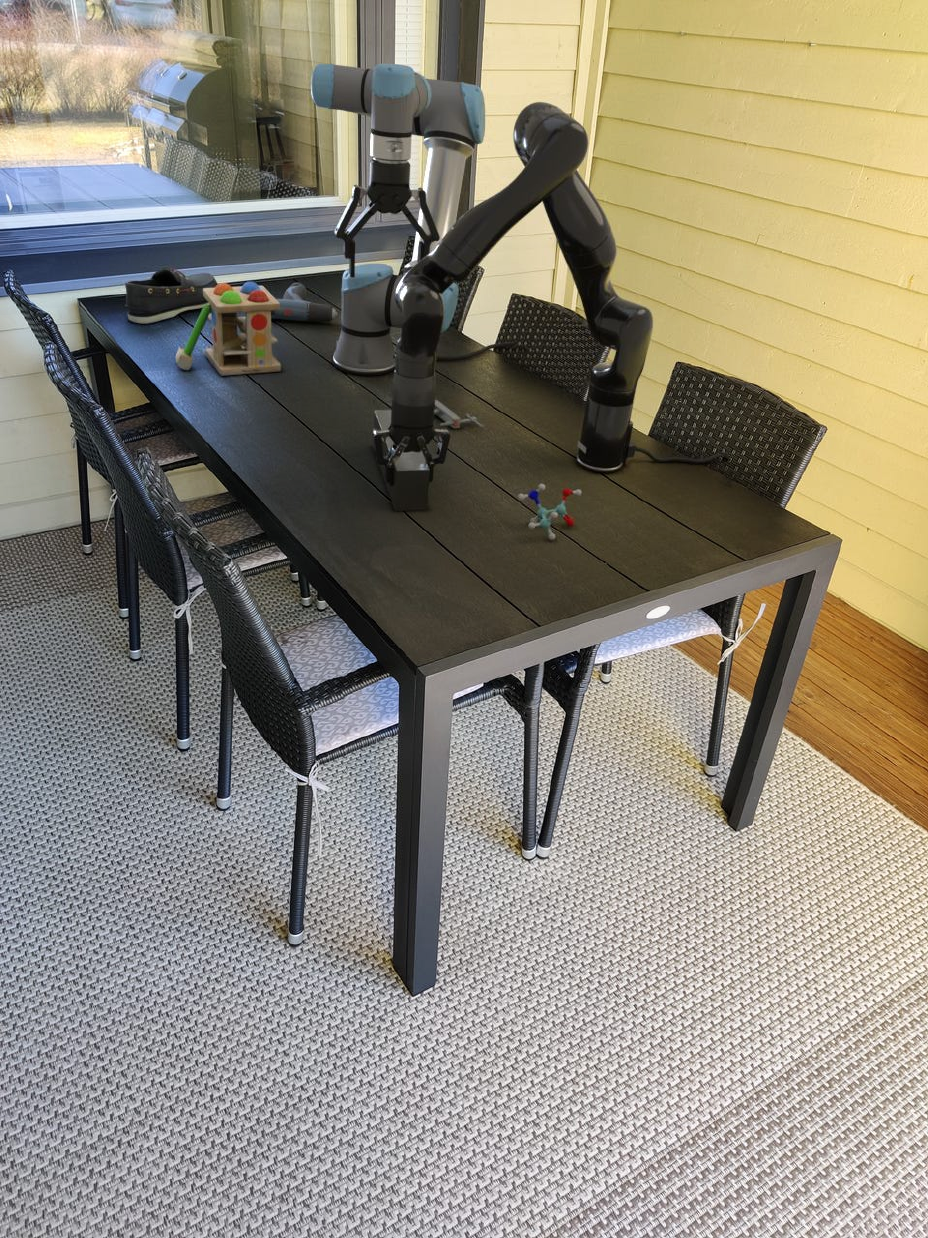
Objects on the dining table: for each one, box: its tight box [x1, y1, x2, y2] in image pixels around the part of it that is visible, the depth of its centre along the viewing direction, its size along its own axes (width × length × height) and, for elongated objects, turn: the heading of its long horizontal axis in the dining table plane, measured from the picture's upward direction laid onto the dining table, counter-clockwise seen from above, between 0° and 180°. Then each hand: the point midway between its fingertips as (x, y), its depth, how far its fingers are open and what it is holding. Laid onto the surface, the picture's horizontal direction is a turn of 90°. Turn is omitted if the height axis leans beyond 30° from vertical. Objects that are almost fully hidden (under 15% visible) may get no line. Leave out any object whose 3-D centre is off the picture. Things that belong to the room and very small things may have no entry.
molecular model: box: [517, 483, 582, 541], centre depth 175 cm, size 12×10×10 cm
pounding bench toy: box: [174, 281, 282, 377], centre depth 225 cm, size 23×14×18 cm, turn 116°
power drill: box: [271, 282, 338, 322], centre depth 265 cm, size 5×19×20 cm
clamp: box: [434, 399, 486, 430], centre depth 213 cm, size 15×2×10 cm
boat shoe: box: [124, 266, 218, 324], centre depth 259 cm, size 13×33×10 cm, turn 147°
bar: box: [372, 409, 430, 512], centre depth 187 cm, size 27×6×8 cm, turn 13°
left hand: (386, 276), depth 194 cm, fingers open, 13 cm apart
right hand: (408, 483), depth 179 cm, fingers closed on bar, 6 cm apart
